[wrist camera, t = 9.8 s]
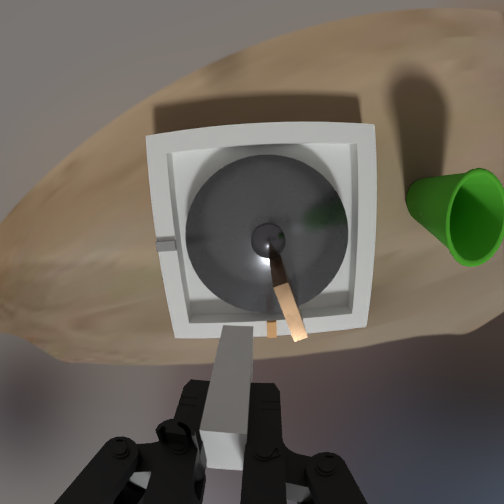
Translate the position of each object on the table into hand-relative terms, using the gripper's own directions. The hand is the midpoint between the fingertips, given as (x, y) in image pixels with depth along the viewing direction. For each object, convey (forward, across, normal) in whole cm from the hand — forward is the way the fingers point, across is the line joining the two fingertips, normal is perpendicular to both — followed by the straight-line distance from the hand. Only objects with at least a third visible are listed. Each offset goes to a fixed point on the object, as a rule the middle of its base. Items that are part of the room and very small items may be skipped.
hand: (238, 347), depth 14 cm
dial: (+16, +2, +2) cm, 17 cm away
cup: (+19, +20, +6) cm, 28 cm away
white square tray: (+18, +2, +2) cm, 18 cm away
